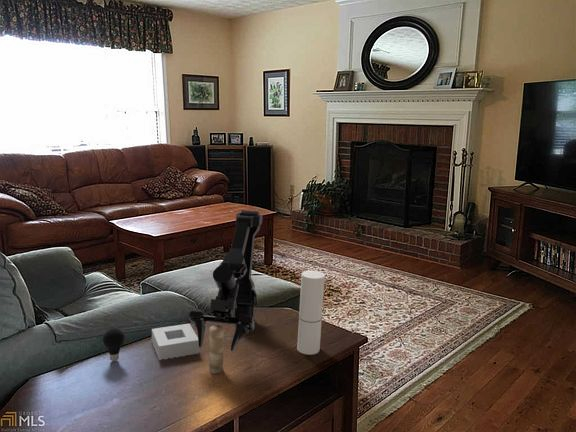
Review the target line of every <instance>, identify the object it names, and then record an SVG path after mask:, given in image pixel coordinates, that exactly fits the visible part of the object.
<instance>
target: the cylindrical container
mask: <svg viewBox="0 0 576 432" xmlns="http://www.w3.org/2000/svg"><path fill="white" fill-rule="evenodd" d="M325 277H326V275H325V273H324V272H322V271H317V270H305V271H302V272H301V276H300V279H301V280H300V291H299V293H300V294H299V295H300V296H299V308H298V309H299V310H298V311H299V312H298V313H299V315H298V325H297V326H298V328H297V329H298V330H297V345H296V350H297V351H298V352H299V353H300V354H303V355H310V356H312V355H316V354H319V352H320V348H321V337H322V336H321V334H322V333H321V332H322V322H323V306H324V305H323V304H324V295H325V294H324V293H325V292H324V291H325V281H326V279H325Z"/></svg>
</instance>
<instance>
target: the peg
mask: <svg viewBox="0 0 576 432" xmlns="http://www.w3.org/2000/svg"><path fill="white" fill-rule="evenodd" d="M224 338H225V327H224V326H223V325H220V324H219V325H218V324H217V325H216V324H215V325H212V326H210V327H209V345H208V348H209V350H208V352H209V353H208V355H209V356H208V372H209V373H210V374H212V375H219V374H221V373H223V372H224V350H225V349H224V347H225V346H224V343H225V339H224Z"/></svg>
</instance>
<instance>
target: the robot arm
mask: <svg viewBox="0 0 576 432" xmlns="http://www.w3.org/2000/svg"><path fill="white" fill-rule="evenodd" d="M262 224H263V214H261V213H260V211H259V210H258V211H257V210H247V209H242V210H241V211H240V212H238V213H236V214H235V225H236V226H235V229H234V235H233V238H232V242H231V244H230V249H229V251H228V252H227V253H225V254H224V255H223V259H222V261H221V262H220V264H219V265H218V266H217V267H216V268H215V269H214V270H213V272H212V278H213V280H214V282H215V284H216V287H217V289H218V291H217V295H216V296H215V299H214V298H213V299H212V298H211V299H210V302H209V303H210V305H209V311H210V313H211V314H206V313H205V311H204V310H203V309H194V308H192V309H190V311H189V312H188V315H187V319H188V320H189V321H190V323H191V324H192V325H194V327H195V328H196V331H197V337H198V342H199V348H202V345H203V341H204V338H205V337H204V336H205V332H206V325H205V324H207V322H209V323H210V322H211V323H212V322H213V323H217V324H218V323H220V324H227V325H228V324H229V325H235V331H234V334H233V338H232V342H231V345H230V346H231V347H230V351H231V352H233V351H234V350H235V348H236V346H237V345H238V343H239V342H240V340H242V338H243V337H244V335H245V334H248V333H249V331H254V329H255V323H256V319H255V318H254V310H255V309H254V308H255V306H258V303H259V302H258V301H259V300H258V295H257V291H256V290H255V289H256V287H255V282H254V281H253V279H252V271H253V259H254V248H255V247H254V246H255V236H256V235H257V234H258V233H259V231H260V229H261V225H262Z"/></svg>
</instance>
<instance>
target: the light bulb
mask: <svg viewBox="0 0 576 432" xmlns="http://www.w3.org/2000/svg"><path fill="white" fill-rule="evenodd" d="M124 342H125V334H124V332H123V331H122V330H121V329H119V328H117V327H115V328H110V329H108V330H107V331H106V332H105V333H104V335H103V336H102V343H103V345H104V346H105V347H106V348H107V351H108V353H109V360H110V361H112V362H117V360H119V358H120V356H119V355H120V354H119V353H120V350H121V347H122V346H123V344H124Z"/></svg>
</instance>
